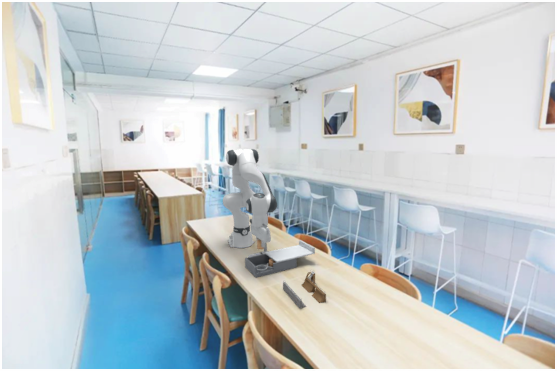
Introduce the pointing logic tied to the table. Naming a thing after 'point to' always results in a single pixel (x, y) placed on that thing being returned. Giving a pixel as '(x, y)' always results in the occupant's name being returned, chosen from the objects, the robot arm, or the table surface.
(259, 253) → the electronic device
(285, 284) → the skate ramp
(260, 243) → the brown egg
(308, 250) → the lid
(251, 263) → the housing
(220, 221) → the table surface
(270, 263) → the egg seated
